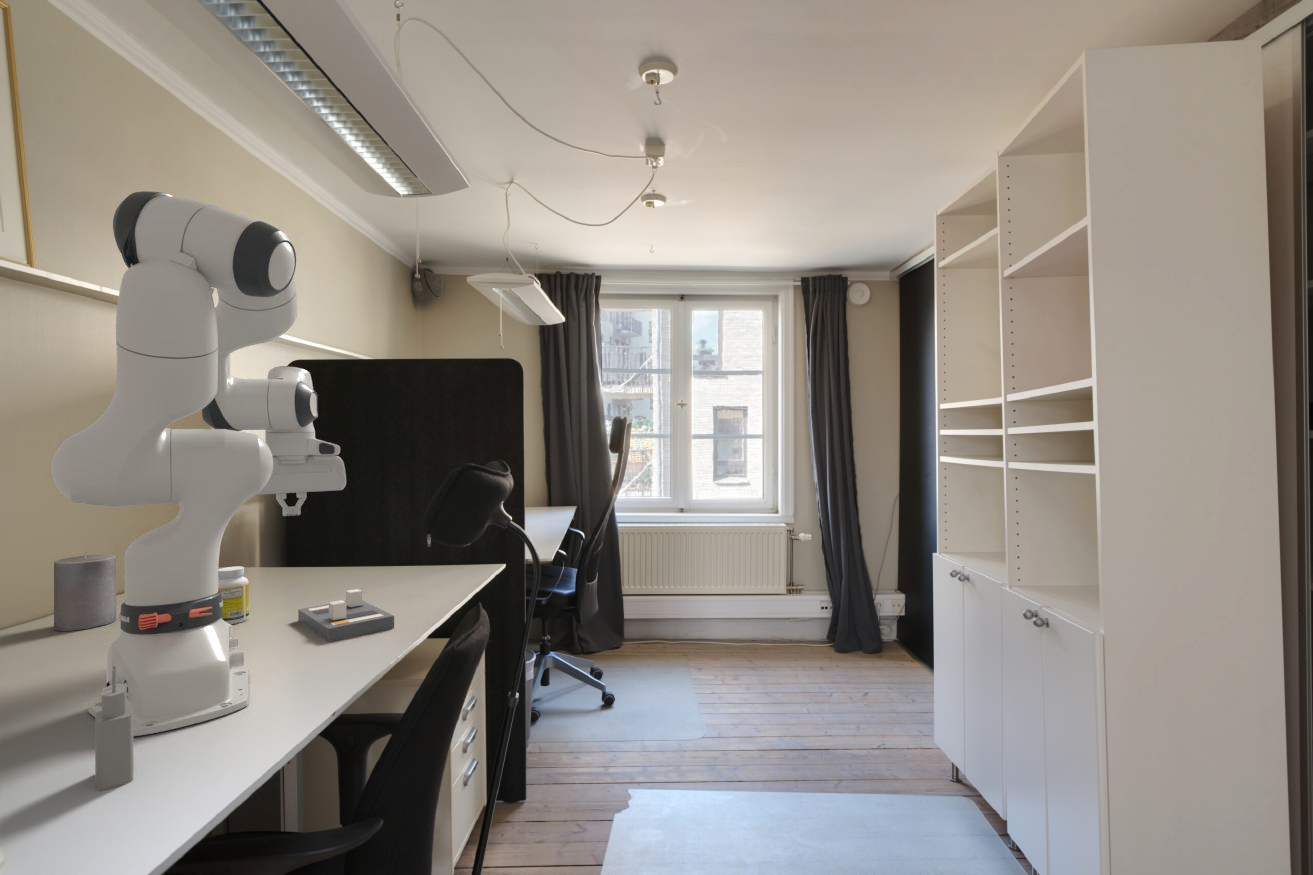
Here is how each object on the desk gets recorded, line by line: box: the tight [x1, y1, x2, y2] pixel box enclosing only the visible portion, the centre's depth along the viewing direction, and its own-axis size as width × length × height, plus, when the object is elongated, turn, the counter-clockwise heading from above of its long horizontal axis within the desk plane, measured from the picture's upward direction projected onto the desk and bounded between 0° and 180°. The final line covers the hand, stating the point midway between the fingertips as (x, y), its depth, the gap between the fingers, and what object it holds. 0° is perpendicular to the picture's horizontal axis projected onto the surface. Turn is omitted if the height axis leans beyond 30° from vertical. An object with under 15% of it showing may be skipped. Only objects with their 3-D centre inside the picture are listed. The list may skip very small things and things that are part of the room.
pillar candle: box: [53, 551, 117, 632], centre depth 132 cm, size 10×10×15 cm
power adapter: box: [94, 666, 135, 791], centre depth 71 cm, size 3×5×12 cm, turn 39°
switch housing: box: [297, 600, 395, 642], centre depth 129 cm, size 20×12×2 cm, turn 43°
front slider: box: [328, 599, 346, 620], centre depth 125 cm, size 3×2×3 cm
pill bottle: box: [218, 565, 250, 625], centre depth 133 cm, size 6×6×11 cm
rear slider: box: [345, 588, 363, 607], centre depth 134 cm, size 3×2×3 cm
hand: (291, 515), depth 130 cm, fingers closed
